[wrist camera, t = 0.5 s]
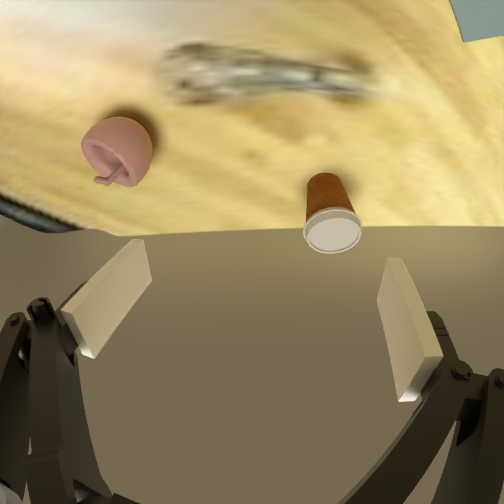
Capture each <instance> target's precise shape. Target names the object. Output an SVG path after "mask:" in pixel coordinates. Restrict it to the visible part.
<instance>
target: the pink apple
mask: <svg viewBox="0 0 504 504" xmlns="http://www.w3.org/2000/svg"><path fill="white" fill-rule="evenodd" d="M81 148H82V151H83V153H84V156H85V157H86V159H87V161H88V162H89V164H90V165H91V166H92V168H93V169H94V170H95V171H96V172H97V173H98V174H99V175H101V176H103V177H100V176H97V177H95V178H94V182H95V183H101V184H103V185H105V186H109V185H110V184H111V183H112V182H115V183H117V184H120V185H123V186H127V187H133V186H136V185H137V184H138V183H139V182H140V181H141V180H142V179H143V178H144V176H145V175H146V173H147V171H148V170H149V167H150V164H151V161H152V155H153V148H152V142H151V139H150V136H149V134H148V133H147V131H146V130H145V128H144V127H143V126H142V125H141V124H139V123H138V122H136V121H135V120H133V119H130V118H127V117H120V116H117V117H110V118H106V119H104V120H102V121H100V122H98V123H97V124H95V125H94V126H93V127H92V128H91V129H90V130H89V131H88V132H87V133H86V134H85V136H84V138H83V139H82V142H81Z"/></svg>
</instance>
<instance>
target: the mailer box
mask: <svg viewBox="0 0 504 504" xmlns="http://www.w3.org/2000/svg"><path fill="white" fill-rule="evenodd" d="M449 1H450V4H451V7H452V9H453V12H454V15H455V18H456V20H457V23H458V26H459V30H460V33H461V36H462V40H463V42H464V43H465V42H470V41H475V40H480V39H485V38H491V37H498V36H504V0H449Z"/></svg>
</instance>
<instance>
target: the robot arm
mask: <svg viewBox="0 0 504 504" xmlns="http://www.w3.org/2000/svg"><path fill="white" fill-rule="evenodd" d="M151 281H152V278H151V274H150V269H149V265H148V260H147V255H146V250H145V245H144V240H138V239H132V240H131V241H130V242H129V243H128V244H127V245H126V246H124V247H123V248H122V249H121V250H120V251H119V252H118V253H117V254H116V255H115V256H114V257H113V258H112V259H110V260H109V261H108V262H107V263H106V264H105V265H104V266H103V267H102V268H101V269H100V270H99V271H98V272H97V273H96V274H95V275H94V276H93V277H92V278H91V279H90V280H88V281H86V282H84V283H83V284H81V285H80V286H79V287H78V288H77V289H76V290H75V292H73V293H72V294H71V295H70V297H68V298H67V299H66V300H65V301H64V302H63V303H62V304H61V306H60V307H59V308H58V309H57V310H56V311H54V309H53V307H52V305H51V303H50V300H49V299H48V298H46V297H40V298H37V299H35V300H33V301H32V302H31V303H30V304H29V305H28V306H27V312H28V314H29V315H30V317H31V319H32V320H27V318H26V316H25V315H24V313H22V312H17V313H13V314H12V315H11V316H10V317H9V318H8V319H7V320H6V322H5V324H4V326H3V328H2V330H1V332H0V504H22V501H23V497H24V492H25V485H26V481H27V486H28V491H29V497H30V501H31V504H139V503H137V502H134V501H132V500H130V499H127V498H125V497H123V496H120V495H118V494H116V493H114V494H113V496H112V494H111V491H110V489H109V488H108V486H107V484H106V483H105V482H104V480H103V479H102V477H101V475H100V472H99V468H98V465H97V461H96V458H95V454H94V450H93V446H92V442H91V438H90V434H89V429H88V424H87V420H86V415H85V409H84V404H83V398H82V391H81V384H80V377H79V369H78V359H77V354H76V352H75V349H76V348H77V347H79V348H80V350H81V352H82V354H83V355H86V356H88V357H91V358H94V359H95V357H96V356H97V354H98V353H99V352H100V350H101V348H102V347H103V346H104V344H105V343H106V342H107V340H108V339H109V337H110V336H111V334H112V333H113V332H114V330H115V329H116V327H117V326H118V324H120V322H121V321H122V319H123V318H124V317H125V315H126V314H127V313H128V311H129V310H130V309H131V307H132V306H133V305H134V303H135V302H136V301H137V299H138V298H139V297H140V295H141V294H142V293H143V292H144V290H145V289H146V288H147V286H148V285H149V284H150V283H151ZM377 304H378V308H379V312H380V316H381V320H382V324H383V328H384V332H385V336H386V341H387V345H388V350H389V355H390V359H391V364H392V369H393V375H394V380H395V386H396V392H397V397H398V401H399V402H402V401H414V400H416V398H417V397H418V395H419V394H420V392H421V396H422V401H421V403H420V404H419V406H418V407H417V408H416V410H415V411H414V412H413V415H412V416H411V418H410V419H409V421H408V422H407V424H406V425H405V426H404V428H403V429H402V431H401V432H400V433H399V435H398V436H397V437H396V439H395V440H394V441H393V443H392V444H391V445H390V446H389V448H388V449H387V450H386V451H385V453H384V454H383V455H382V456H381V458H380V459H379V460H378V461H377V462H376V463H375V465H374V466H373V467H372V468H371V469H370V471H369V472H368V473H367V474H366V475H365V476H364V477H363V478H362V479H361V480H360V481H359V483H358V484H357V485H356V486H355V487H354V488H353V489H352V490H351V491H350V492H349V493H348V494H347V495H346V496H345V497H344V498H343V499H342V500H341V501H340V502H339V503H338V504H403V502H404V501H405V500H406V498H407V497H408V496H409V495H410V493H411V492H412V491H413V489H414V488H415V486H416V485H417V484H418V482H419V480H420V479H421V478H422V476H423V475H424V473H425V472H426V470H427V469H428V467H429V466H430V464H431V463H432V461H433V459H434V458H435V456H436V454H437V453H438V451H439V449H440V448H441V446H442V444H443V442H444V440H445V439H446V437H447V435H448V433H449V431H450V429H451V427H452V425H453V424H454V421H457V422H456V427H455V431H454V435H453V440H452V443H451V447H450V450H449V454H448V457H447V461H446V464H445V467H444V470H443V473H442V476H441V479H440V482H439V485H438V487H437V490H436V492H435V495H434V497H433V500H432V503H431V504H498V501H499V498H500V493H501V490H502V485H503V481H504V370H503V369H499V368H496V369H493V370H492V371H491V373H490V374H489V375H488V376H484V375H479V374H475V373H473V371H472V369H471V367H470V366H469V365H468V364H467V363H465V362H464V361H461V360H459V358H458V356H457V353H456V351H455V348H454V346H453V343H452V341H451V339H450V336H449V334H448V332H447V330H446V327H445V325H444V322H443V320H442V319H441V317H439V315H438V314H437V313H436V312H433V311H428V312H427V311H426V310H425V308H424V306H423V303H422V301H421V299H420V296H419V294H418V292H417V290H416V288H415V285H414V283H413V281H412V279H411V277H410V275H409V273H408V271H407V269H406V267H405V265H404V263H403V261H402V259H401V258H394V257H388V258H387V262H386V266H385V270H384V274H383V278H382V282H381V286H380V290H379V293H378V297H377ZM19 350H20V351H21V353H22V355H23V357H22V359H21V358H20V357H19V356H18V354H19ZM30 438H31V447H32V453H31V455H28V448H29V440H30Z"/></svg>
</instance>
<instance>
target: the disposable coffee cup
mask: <svg viewBox="0 0 504 504" xmlns="http://www.w3.org/2000/svg"><path fill="white" fill-rule="evenodd" d="M361 232H362V222H361V220H360V218H359V217H358V216H357V215H356V214H355V211H354V209H353V207H352V205H351V202H350V200H349V198H348V196H347V194H346V192H345V190H344V187H343V185H342V183H341V181H340V179H339V178H338V177H337V176H335V175H334V174H330V173H321V174H318V175H316V176H314V177H313V178H311V180H310V181H309V183H308V190H307V213H306V224H305V226H304V230H303V234H304V238H305V239H306V241H307V242H308V244H309V245H310V247H311V248H313V249H314V250H316V251H318V252H322V253H328V254H332V253H339V252H343V251H346V250H348V249H350V248H351V247H352V246H354V245H355V244H356V243H357V242H358V241H359V239H360V236H361Z"/></svg>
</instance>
